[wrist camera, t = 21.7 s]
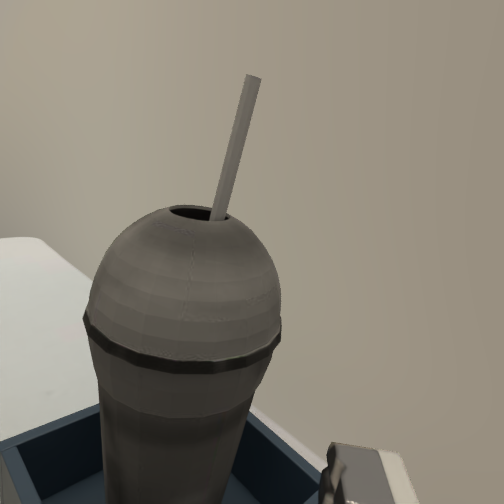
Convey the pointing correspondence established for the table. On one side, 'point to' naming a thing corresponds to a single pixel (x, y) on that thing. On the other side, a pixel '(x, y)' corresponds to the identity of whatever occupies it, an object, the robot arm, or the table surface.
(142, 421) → the beverage cup
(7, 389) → the table surface
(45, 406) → the table surface
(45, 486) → the freezer basket
